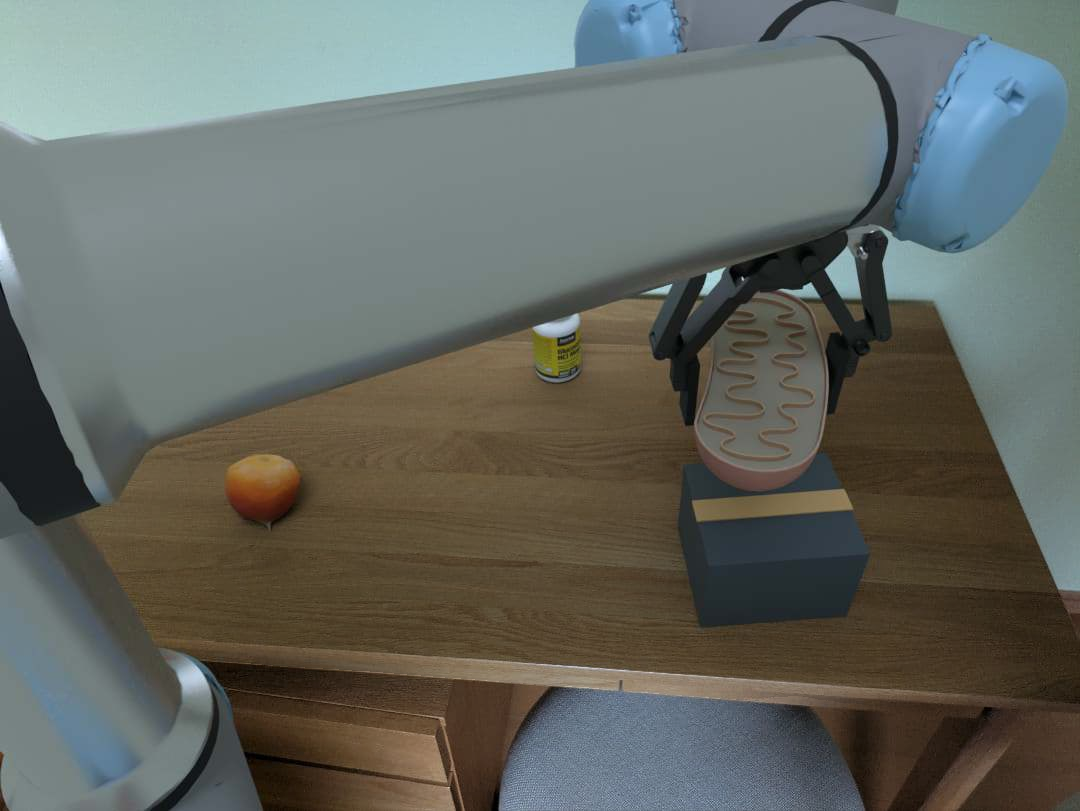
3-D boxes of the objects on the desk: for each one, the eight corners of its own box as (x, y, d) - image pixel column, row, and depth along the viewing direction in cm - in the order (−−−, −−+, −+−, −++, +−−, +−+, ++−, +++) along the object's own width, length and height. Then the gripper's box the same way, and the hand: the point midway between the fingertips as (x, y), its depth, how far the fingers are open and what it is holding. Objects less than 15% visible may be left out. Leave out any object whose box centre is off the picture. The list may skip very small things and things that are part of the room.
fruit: (207, 530, 85) (207, 460, 83) (253, 507, 92) (254, 442, 90) (271, 545, 82) (273, 474, 81) (313, 520, 90) (315, 454, 88)
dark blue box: (698, 627, 74) (707, 564, 67) (676, 527, 83) (682, 462, 76) (848, 616, 74) (872, 552, 67) (809, 517, 83) (828, 451, 76)
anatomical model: (706, 326, 75) (710, 282, 71) (813, 335, 73) (823, 290, 69) (684, 507, 58) (689, 462, 55) (822, 526, 56) (836, 480, 53)
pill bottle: (563, 390, 100) (559, 321, 92) (525, 373, 103) (518, 305, 95) (590, 364, 103) (589, 296, 96) (553, 348, 106) (549, 281, 99)
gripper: (952, 125, 53) (877, 369, 68) (612, 153, 53) (612, 390, 68) (1006, 176, 48) (911, 428, 63) (627, 207, 48) (623, 452, 63)
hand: (755, 409), depth 66 cm, fingers closed on anatomical model, 11 cm apart
